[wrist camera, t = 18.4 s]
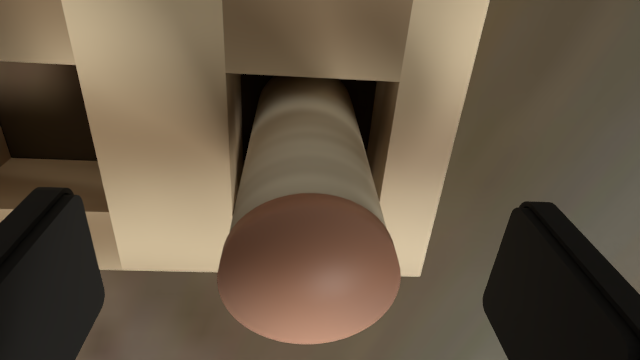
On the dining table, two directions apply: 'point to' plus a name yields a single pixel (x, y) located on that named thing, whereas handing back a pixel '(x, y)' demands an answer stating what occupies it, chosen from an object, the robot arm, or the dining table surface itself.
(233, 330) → the dining table surface
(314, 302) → the peg
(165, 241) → the peg board
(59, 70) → the dining table surface
